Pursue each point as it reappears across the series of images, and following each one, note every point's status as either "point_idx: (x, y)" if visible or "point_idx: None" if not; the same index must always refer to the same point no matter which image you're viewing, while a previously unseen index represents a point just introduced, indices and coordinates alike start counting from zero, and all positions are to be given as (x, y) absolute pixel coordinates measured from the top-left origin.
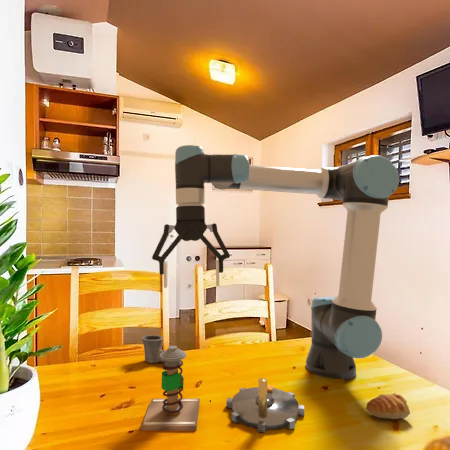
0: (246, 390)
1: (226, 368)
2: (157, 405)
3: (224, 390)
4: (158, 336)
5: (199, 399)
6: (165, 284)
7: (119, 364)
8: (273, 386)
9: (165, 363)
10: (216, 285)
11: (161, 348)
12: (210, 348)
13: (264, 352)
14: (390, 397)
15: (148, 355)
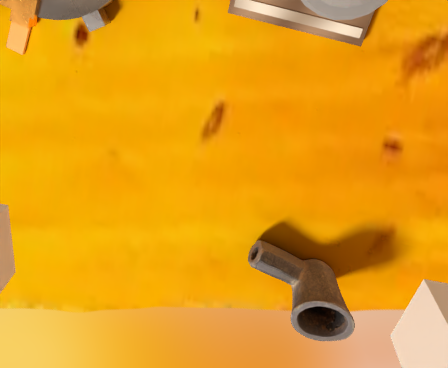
0: (84, 4)
1: (126, 188)
2: None
3: (149, 65)
4: (302, 328)
5: (229, 6)
6: (444, 301)
7: (399, 275)
8: (6, 45)
9: None
10: (4, 208)
11: (294, 289)
12: (153, 305)
13: None
14: None
15: (330, 275)
